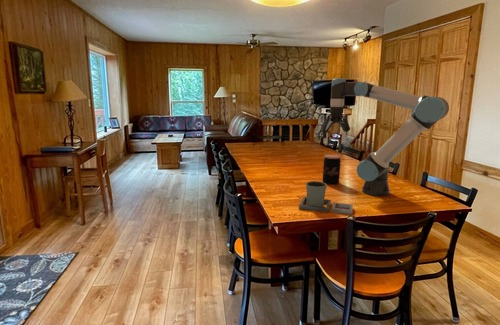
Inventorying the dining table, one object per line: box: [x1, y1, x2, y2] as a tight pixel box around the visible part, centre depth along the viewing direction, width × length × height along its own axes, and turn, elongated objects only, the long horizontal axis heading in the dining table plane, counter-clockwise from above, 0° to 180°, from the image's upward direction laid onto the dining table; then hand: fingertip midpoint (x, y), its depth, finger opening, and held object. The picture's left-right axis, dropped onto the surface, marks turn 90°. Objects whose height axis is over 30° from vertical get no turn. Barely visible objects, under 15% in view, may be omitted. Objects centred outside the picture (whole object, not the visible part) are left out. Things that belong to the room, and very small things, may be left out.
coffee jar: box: [322, 154, 342, 186], centre depth 204 cm, size 11×11×18 cm
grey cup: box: [305, 180, 327, 207], centre depth 160 cm, size 10×10×12 cm
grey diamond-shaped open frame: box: [331, 202, 354, 216], centre depth 155 cm, size 9×9×2 cm
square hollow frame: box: [298, 196, 332, 214], centre depth 161 cm, size 14×14×2 cm
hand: (334, 143), depth 183 cm, fingers open, 13 cm apart
